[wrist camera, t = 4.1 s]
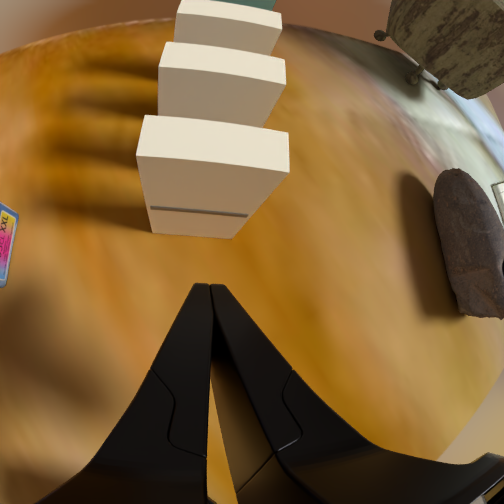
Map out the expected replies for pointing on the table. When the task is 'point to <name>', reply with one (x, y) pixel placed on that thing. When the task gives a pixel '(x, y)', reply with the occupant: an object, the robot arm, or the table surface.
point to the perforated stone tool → (470, 244)
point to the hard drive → (500, 196)
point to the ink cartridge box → (6, 239)
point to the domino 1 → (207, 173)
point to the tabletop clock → (451, 41)
